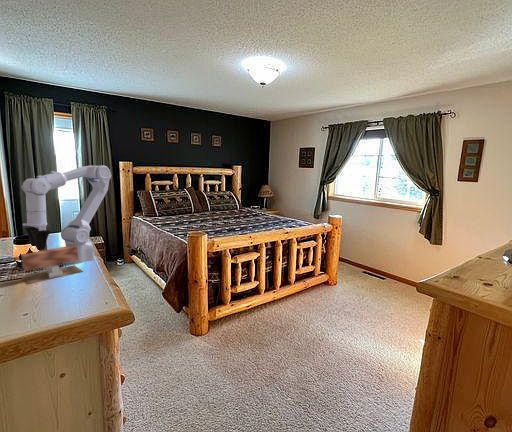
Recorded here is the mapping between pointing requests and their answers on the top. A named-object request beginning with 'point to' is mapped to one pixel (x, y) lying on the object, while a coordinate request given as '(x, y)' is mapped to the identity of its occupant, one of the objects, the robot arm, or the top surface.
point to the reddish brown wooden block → (49, 257)
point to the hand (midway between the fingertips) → (38, 247)
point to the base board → (42, 277)
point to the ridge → (52, 271)
